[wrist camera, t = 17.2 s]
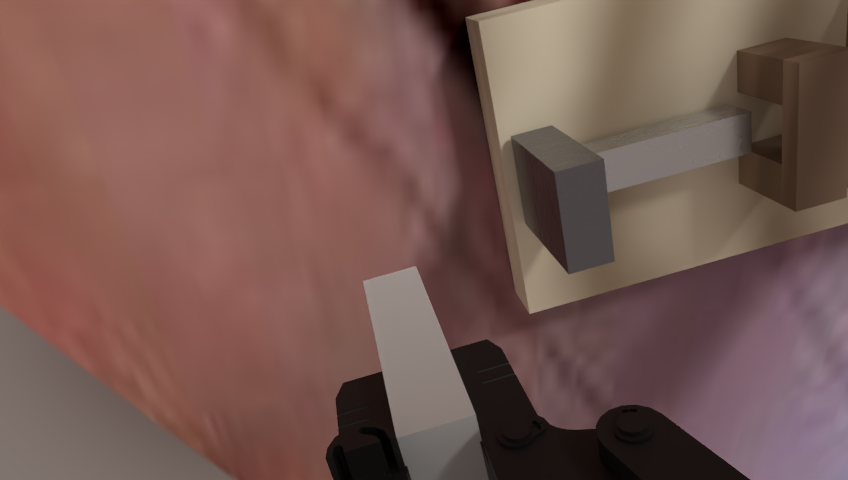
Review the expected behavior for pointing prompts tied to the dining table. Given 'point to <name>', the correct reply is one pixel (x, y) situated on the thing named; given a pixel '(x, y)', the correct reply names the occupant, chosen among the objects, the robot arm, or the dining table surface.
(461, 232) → the dining table surface
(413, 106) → the dining table surface
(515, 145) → the lock pin
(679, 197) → the dock
